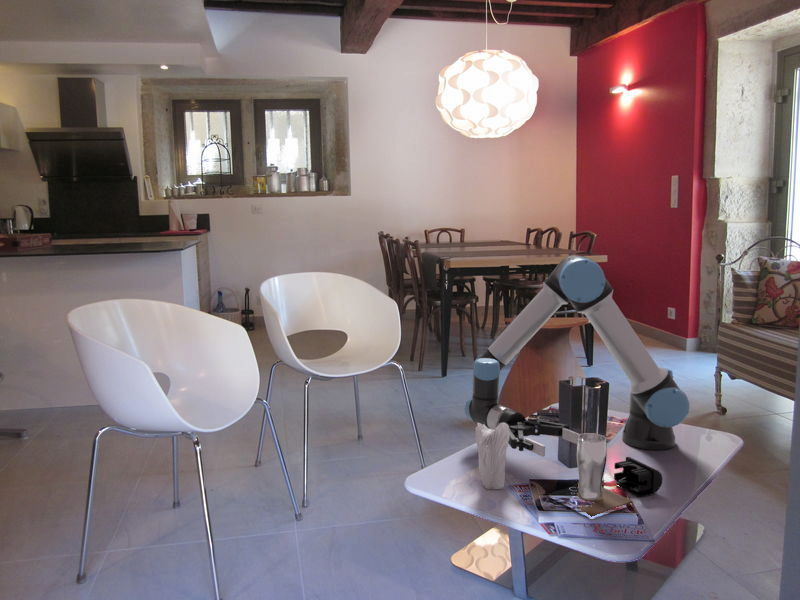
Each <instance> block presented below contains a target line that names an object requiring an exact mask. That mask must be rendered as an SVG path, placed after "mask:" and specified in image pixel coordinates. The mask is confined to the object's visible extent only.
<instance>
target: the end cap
mask: <svg viewBox="0 0 800 600" xmlns="http://www.w3.org/2000/svg"><path fill="white" fill-rule="evenodd" d="M617 469H618V470H619V469H623V470H621V471H618V472H614V473H613V479H614V484H615V483H616V484H617V485H619V486H620V487H622V488H623V489H624V490H623V489H622V490H623V491H625V492H627V493H629V494H630V495H633V496H634V497H636V498H640V499H641V498H645V497H650V496H652V495H654V494H655V493H656V492H658V491H659V489H661V486H662V485H663V475H662V473H661V472H660V471H659V470H657V469H655V468H653V467H651V466H649V465H647V464H646V463H643V462H641V461H639V460H637V459H635V458H633V457H631V456H625V460H624V461H618V462H615V463H614V470H617ZM620 487H619V488H620Z"/></svg>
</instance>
